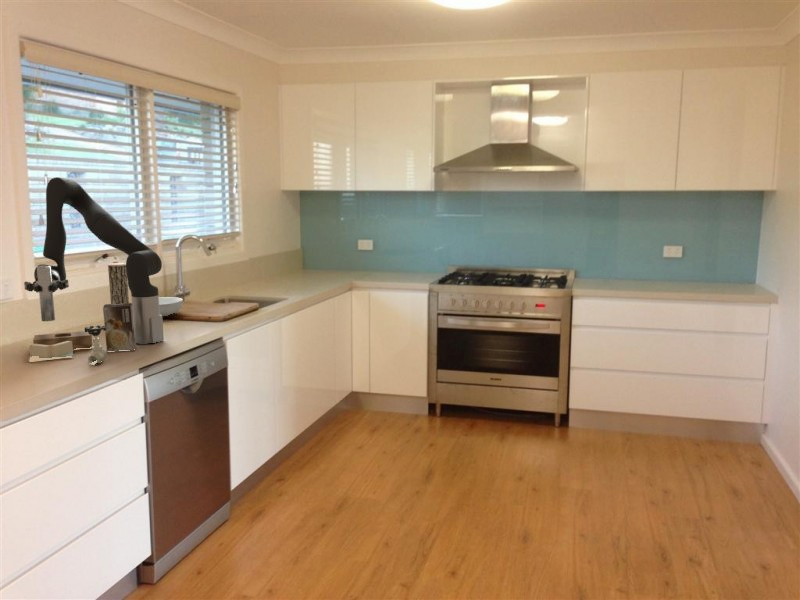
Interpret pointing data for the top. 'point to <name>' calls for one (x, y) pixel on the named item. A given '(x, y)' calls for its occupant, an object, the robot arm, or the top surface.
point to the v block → (52, 350)
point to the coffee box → (119, 327)
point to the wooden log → (118, 283)
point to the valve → (96, 344)
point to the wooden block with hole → (65, 339)
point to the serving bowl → (169, 305)
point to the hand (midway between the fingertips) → (45, 288)
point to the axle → (45, 293)
